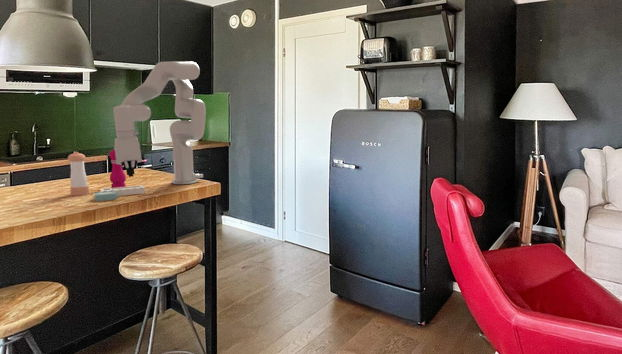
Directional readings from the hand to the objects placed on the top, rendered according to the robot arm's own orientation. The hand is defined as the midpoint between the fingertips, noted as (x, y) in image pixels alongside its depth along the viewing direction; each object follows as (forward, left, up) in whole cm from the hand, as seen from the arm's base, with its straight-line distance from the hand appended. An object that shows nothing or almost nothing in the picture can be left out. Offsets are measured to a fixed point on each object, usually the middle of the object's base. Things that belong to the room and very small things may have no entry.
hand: (130, 176), depth 194 cm
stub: (+11, +1, -9) cm, 14 cm away
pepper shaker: (+20, -16, -9) cm, 27 cm away
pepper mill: (+3, -24, -9) cm, 26 cm away
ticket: (+3, -6, -9) cm, 11 cm away
